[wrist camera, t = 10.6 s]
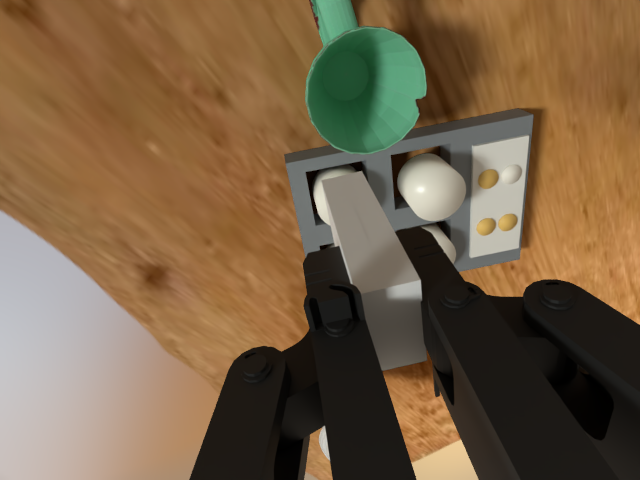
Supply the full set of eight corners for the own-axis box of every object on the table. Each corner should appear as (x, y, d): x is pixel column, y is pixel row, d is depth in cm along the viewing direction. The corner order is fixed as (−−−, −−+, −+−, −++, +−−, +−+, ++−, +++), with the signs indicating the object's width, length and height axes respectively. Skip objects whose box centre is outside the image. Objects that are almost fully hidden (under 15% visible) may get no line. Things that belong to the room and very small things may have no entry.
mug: (405, 101, 44) (440, 125, 35) (319, 140, 45) (333, 173, 36) (357, -57, 37) (386, -75, 28) (256, -6, 38) (254, -9, 29)
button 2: (308, 168, 45) (312, 183, 41) (358, 158, 45) (368, 172, 41) (316, 214, 48) (321, 232, 44) (364, 204, 48) (373, 222, 44)
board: (284, 154, 45) (286, 165, 42) (518, 108, 46) (536, 115, 43) (312, 287, 54) (315, 304, 51) (507, 247, 55) (522, 261, 52)
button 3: (395, 224, 50) (406, 243, 46) (440, 215, 50) (456, 232, 46) (398, 263, 53) (409, 283, 49) (441, 254, 53) (455, 274, 49)
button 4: (395, 159, 43) (408, 174, 40) (448, 148, 44) (466, 162, 40) (399, 207, 46) (411, 225, 42) (448, 197, 46) (465, 215, 42)
